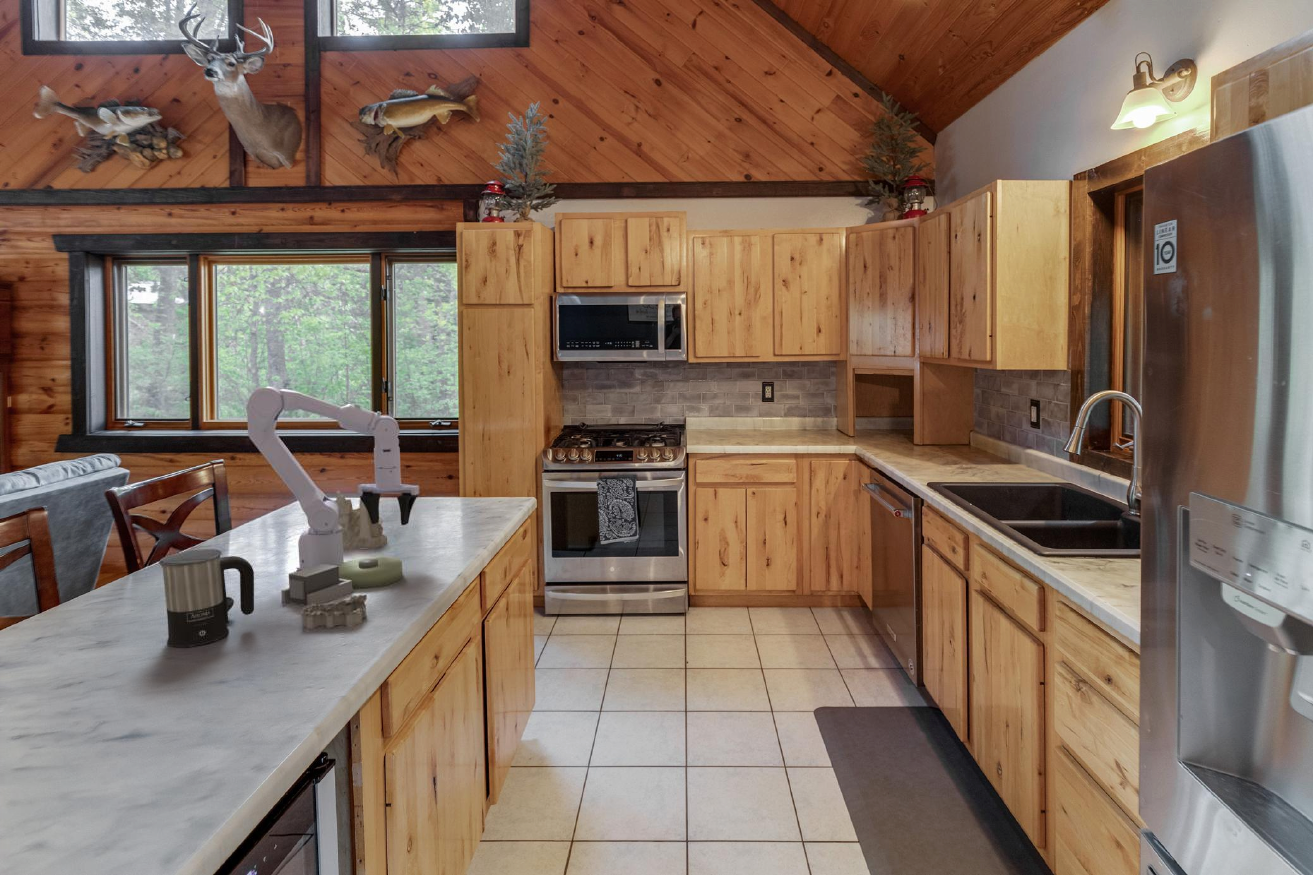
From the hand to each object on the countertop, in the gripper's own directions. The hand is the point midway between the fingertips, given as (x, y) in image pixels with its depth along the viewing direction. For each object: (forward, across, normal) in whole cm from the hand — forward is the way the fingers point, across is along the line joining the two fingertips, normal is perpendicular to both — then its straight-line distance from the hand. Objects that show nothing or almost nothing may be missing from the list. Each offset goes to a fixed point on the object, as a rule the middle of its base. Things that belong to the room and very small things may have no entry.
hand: (390, 523), depth 173 cm
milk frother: (+10, -11, -46) cm, 48 cm away
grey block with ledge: (+10, -2, -26) cm, 28 cm away
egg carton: (+10, +10, -38) cm, 40 cm away
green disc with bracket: (+9, 0, -19) cm, 21 cm away
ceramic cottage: (+10, -19, +17) cm, 27 cm away
